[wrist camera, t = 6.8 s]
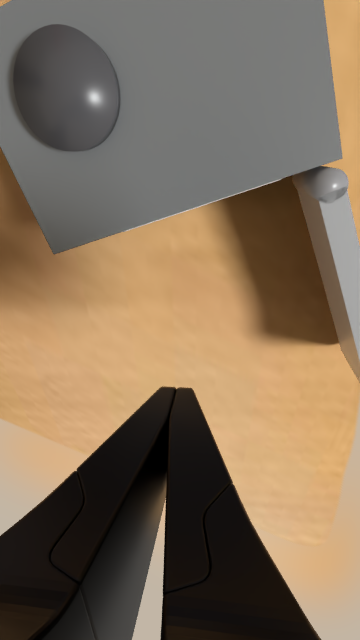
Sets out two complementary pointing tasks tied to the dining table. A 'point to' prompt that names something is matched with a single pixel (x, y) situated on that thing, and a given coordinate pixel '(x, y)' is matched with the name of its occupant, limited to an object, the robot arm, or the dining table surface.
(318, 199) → the side door
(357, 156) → the dining table surface
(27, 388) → the dining table surface
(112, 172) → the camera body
